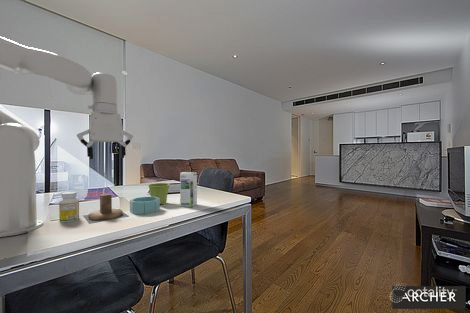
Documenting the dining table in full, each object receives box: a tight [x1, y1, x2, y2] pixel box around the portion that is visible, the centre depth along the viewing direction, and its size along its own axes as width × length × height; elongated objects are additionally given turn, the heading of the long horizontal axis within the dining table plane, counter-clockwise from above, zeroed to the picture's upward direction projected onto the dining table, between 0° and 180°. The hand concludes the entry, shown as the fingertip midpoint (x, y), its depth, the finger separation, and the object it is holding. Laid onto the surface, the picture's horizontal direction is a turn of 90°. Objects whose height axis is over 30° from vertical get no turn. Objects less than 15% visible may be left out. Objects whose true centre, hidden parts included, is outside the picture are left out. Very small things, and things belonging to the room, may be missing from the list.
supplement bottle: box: [58, 191, 80, 223], centre depth 75 cm, size 5×5×10 cm
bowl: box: [129, 196, 161, 215], centre depth 86 cm, size 10×10×5 cm
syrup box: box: [179, 171, 198, 208], centre depth 96 cm, size 6×6×14 cm
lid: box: [87, 193, 123, 221], centre depth 79 cm, size 10×10×8 cm
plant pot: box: [147, 182, 171, 205], centre depth 100 cm, size 9×9×9 cm
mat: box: [82, 211, 130, 225], centre depth 79 cm, size 12×12×1 cm
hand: (107, 158), depth 79 cm, fingers open, 9 cm apart
